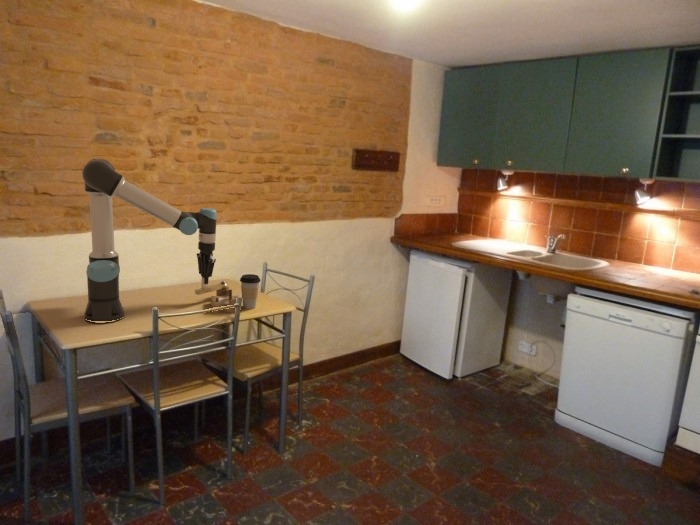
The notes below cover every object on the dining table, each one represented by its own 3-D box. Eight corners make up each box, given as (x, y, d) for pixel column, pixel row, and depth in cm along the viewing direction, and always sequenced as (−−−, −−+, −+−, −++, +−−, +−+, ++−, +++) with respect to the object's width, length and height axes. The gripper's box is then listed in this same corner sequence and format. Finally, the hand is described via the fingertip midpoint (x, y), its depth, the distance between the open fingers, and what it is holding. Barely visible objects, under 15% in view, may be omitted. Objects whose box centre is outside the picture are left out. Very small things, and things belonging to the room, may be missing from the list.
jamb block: (216, 300, 246) (216, 290, 245) (216, 296, 252) (216, 286, 251) (229, 300, 248) (229, 290, 247) (228, 296, 254) (229, 286, 253)
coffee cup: (243, 311, 234) (244, 279, 231) (236, 305, 242) (236, 274, 238) (262, 308, 239) (263, 278, 236) (254, 302, 247) (255, 273, 244)
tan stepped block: (211, 313, 229) (211, 296, 227) (211, 303, 242) (211, 287, 240) (239, 312, 232) (239, 295, 230) (237, 302, 245) (237, 286, 243)
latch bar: (223, 286, 252) (223, 280, 251) (228, 287, 249) (229, 281, 249) (193, 293, 237) (193, 287, 236) (199, 295, 235) (199, 289, 234)
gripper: (192, 239, 238) (190, 287, 243) (207, 245, 230) (204, 294, 235) (206, 238, 243) (204, 285, 249) (221, 243, 235) (218, 292, 241)
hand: (204, 289), depth 242 cm, fingers closed
